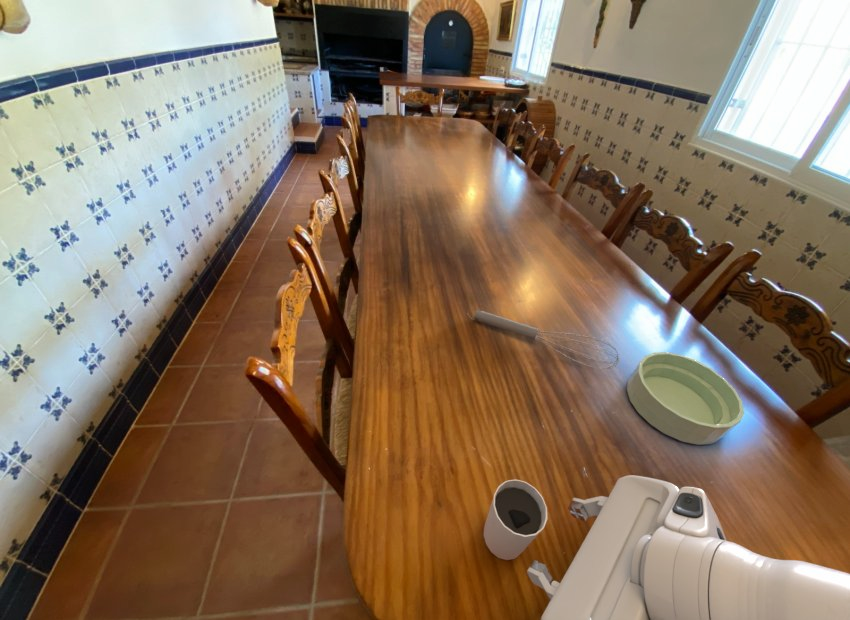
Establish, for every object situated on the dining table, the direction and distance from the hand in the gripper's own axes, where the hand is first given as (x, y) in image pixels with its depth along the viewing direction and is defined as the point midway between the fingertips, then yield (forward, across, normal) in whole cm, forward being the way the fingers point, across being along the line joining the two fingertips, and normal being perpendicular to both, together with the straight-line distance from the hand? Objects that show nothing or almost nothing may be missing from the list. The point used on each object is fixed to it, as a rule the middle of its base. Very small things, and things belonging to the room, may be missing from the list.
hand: (553, 536), depth 42 cm
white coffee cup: (+10, 0, -4) cm, 11 cm away
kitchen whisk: (+23, +38, +8) cm, 45 cm away
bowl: (+3, +43, -11) cm, 45 cm away
